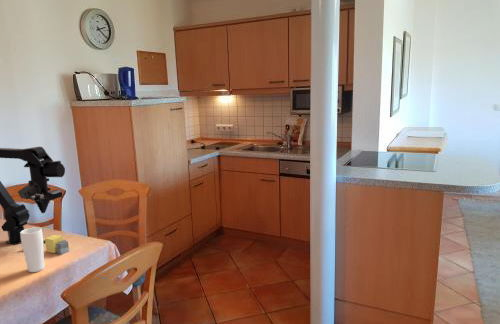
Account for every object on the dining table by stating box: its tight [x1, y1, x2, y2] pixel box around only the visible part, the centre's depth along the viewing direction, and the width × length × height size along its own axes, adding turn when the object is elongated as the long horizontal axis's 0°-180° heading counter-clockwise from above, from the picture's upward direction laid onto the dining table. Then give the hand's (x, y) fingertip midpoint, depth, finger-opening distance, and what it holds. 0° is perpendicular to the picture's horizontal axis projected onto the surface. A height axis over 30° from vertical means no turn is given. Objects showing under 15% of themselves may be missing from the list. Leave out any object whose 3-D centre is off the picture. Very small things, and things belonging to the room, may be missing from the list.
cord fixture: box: [43, 239, 70, 256], centre depth 148 cm, size 18×6×4 cm, turn 68°
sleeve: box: [44, 234, 64, 254], centre depth 147 cm, size 4×4×6 cm
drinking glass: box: [20, 226, 45, 273], centre depth 131 cm, size 7×7×15 cm
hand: (43, 212), depth 155 cm, fingers closed
